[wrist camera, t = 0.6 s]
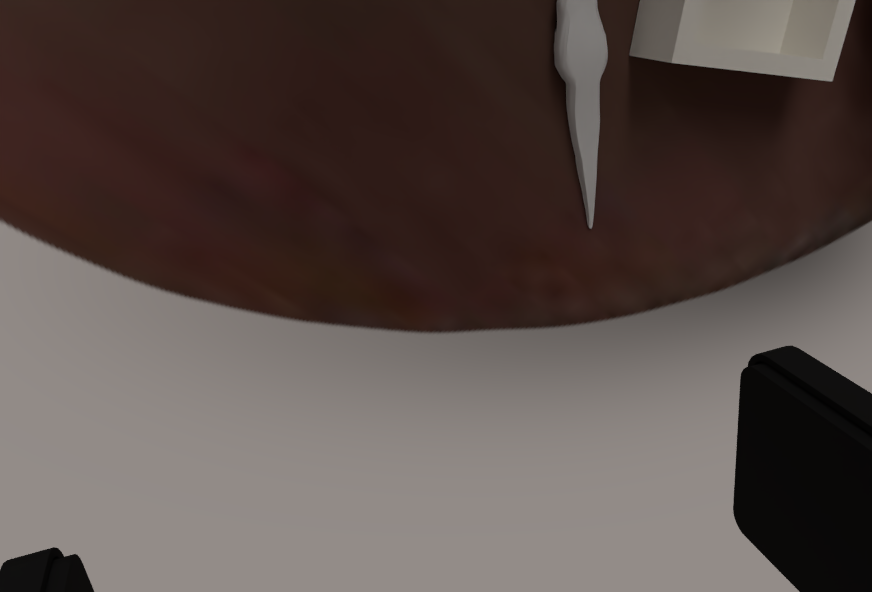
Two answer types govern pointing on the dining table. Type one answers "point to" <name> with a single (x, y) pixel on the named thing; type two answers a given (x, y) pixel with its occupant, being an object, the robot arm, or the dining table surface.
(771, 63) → the can holder
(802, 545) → the robot arm
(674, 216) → the dining table surface
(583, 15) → the white long tapered piece
